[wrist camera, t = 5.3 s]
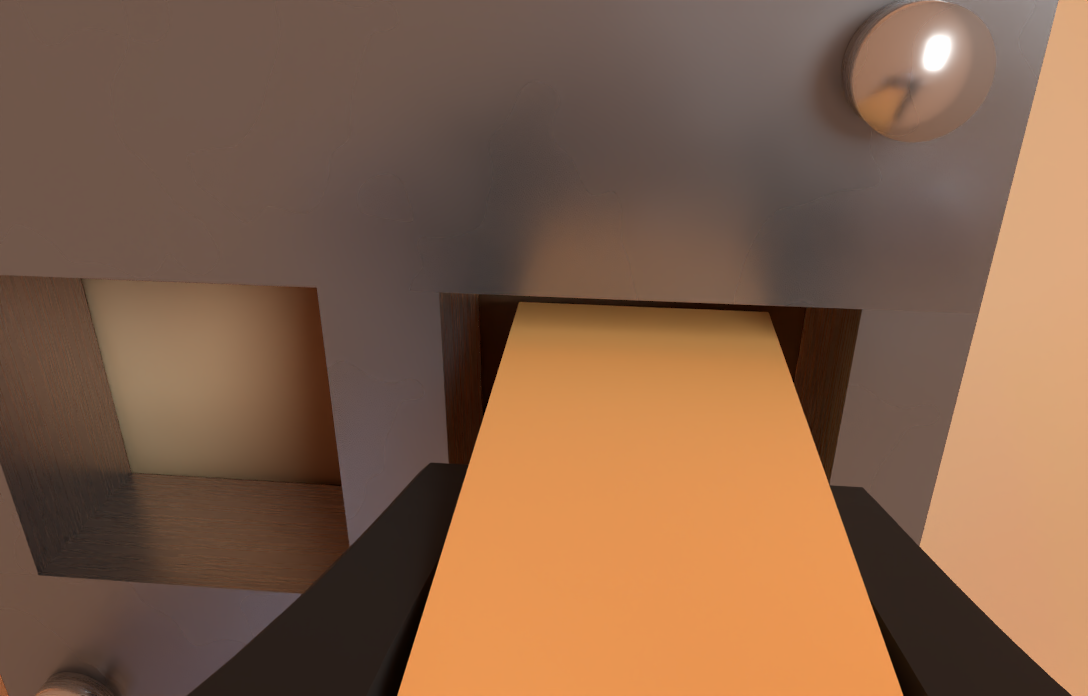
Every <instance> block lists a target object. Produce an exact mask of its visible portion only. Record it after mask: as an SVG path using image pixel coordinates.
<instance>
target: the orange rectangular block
mask: <svg viewBox="0 0 1088 696" xmlns="http://www.w3.org/2000/svg"><path fill="white" fill-rule="evenodd" d="M397 696H903V693H902V690H901V688H900V685H899V682H898V679H897V676H896V673H895V671H894V668H893V665H892V662H891V659H890V656H889V654H888V651H887V648H886V645H885V642H884V639H883V636H882V634H881V631H880V628H879V625H878V622H877V619H876V617H875V614H874V611H873V608H872V605H871V602H870V600H869V597H868V594H867V591H866V588H865V585H864V582H863V580H862V577H861V574H860V571H859V568H858V565H857V563H856V560H855V557H854V554H853V551H852V548H851V546H850V543H849V540H848V537H847V534H846V531H845V528H844V526H843V523H842V520H841V517H840V514H839V511H838V509H837V506H836V503H835V500H834V497H833V494H832V491H831V489H830V486H829V483H828V480H827V477H826V474H825V472H824V469H823V466H822V463H821V460H820V457H819V455H818V452H817V449H816V446H815V443H814V440H813V437H812V435H811V432H810V429H809V426H808V423H807V420H806V418H805V415H804V412H803V409H802V406H801V403H800V401H799V398H798V395H797V392H796V389H795V386H794V383H793V381H792V378H791V375H790V372H789V369H788V366H787V364H786V361H785V358H784V355H783V352H782V349H781V347H780V344H779V341H778V338H777V335H776V332H775V329H774V327H773V324H772V321H771V318H770V315H769V312H754V311H730V310H706V309H681V308H657V307H632V306H608V305H583V304H559V303H534V302H519V304H518V308H517V311H516V314H515V317H514V321H513V324H512V327H511V330H510V333H509V337H508V340H507V343H506V346H505V350H504V353H503V356H502V359H501V363H500V366H499V369H498V372H497V375H496V379H495V382H494V385H493V388H492V392H491V395H490V398H489V401H488V405H487V408H486V411H485V414H484V417H483V421H482V424H481V427H480V430H479V434H478V437H477V440H476V443H475V447H474V450H473V453H472V456H471V459H470V463H469V466H468V469H467V472H466V476H465V479H464V482H463V485H462V489H461V492H460V495H459V498H458V501H457V505H456V508H455V511H454V514H453V518H452V521H451V524H450V527H449V531H448V534H447V537H446V540H445V543H444V547H443V550H442V553H441V556H440V560H439V563H438V566H437V569H436V573H435V576H434V579H433V582H432V585H431V589H430V592H429V595H428V598H427V602H426V605H425V608H424V611H423V615H422V618H421V621H420V624H419V627H418V631H417V634H416V637H415V640H414V644H413V647H412V650H411V653H410V657H409V660H408V663H407V666H406V669H405V673H404V676H403V679H402V682H401V686H400V689H399V692H398V695H397Z"/></svg>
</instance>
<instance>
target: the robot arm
mask: <svg viewBox="0 0 1088 696" xmlns="http://www.w3.org/2000/svg"><path fill="white" fill-rule="evenodd" d="M468 466H469V465H466V464H448V463H431V462H430V463H429V464H428V465H427V466H426V467H425V468H423V469H422V470H421V471H420V472H419V473H418V474H417V475H416V476H415V477H414V479H413V480H412V481H411V482H410V483H409V484H408V485H407V486H406V487H405V488H404V489H403V491H402V492H401V493H400V494H399V495H398V496H397V497H396V498H395V499H394V500H393V502H392V503H391V504H390V505H389V506H388V507H387V508H386V509H385V510H384V511H383V512H382V513H381V515H380V516H379V517H378V518H377V519H376V520H375V521H374V522H373V523H372V524H371V525H370V526H369V527H368V528H367V529H366V530H365V531H364V533H363V534H362V535H361V536H360V537H359V538H358V539H357V540H356V541H355V542H354V543H353V544H352V545H351V546H350V547H349V548H348V549H347V550H346V551H345V552H344V553H343V554H342V555H341V556H340V557H339V558H338V559H337V560H336V561H335V562H334V563H333V564H332V565H331V566H330V567H329V568H328V569H327V570H326V571H325V572H324V573H323V574H322V575H321V576H320V577H319V578H318V579H317V580H316V581H315V582H314V583H313V584H312V585H311V586H310V587H309V588H308V589H307V590H306V591H305V592H304V593H303V594H302V595H301V596H300V597H299V598H297V599H296V600H295V601H294V602H293V603H292V604H291V605H290V606H289V607H288V608H287V609H285V610H284V611H283V612H282V613H281V614H280V615H279V616H278V617H277V618H275V619H274V620H273V621H272V622H271V623H270V624H269V625H268V626H267V627H265V628H264V629H263V630H262V631H261V632H260V633H259V634H258V635H257V636H256V637H254V638H253V639H252V640H251V641H250V642H249V643H248V644H247V645H246V646H244V647H243V648H242V649H241V650H240V651H239V652H238V653H237V654H236V655H234V656H233V657H232V658H231V659H230V660H229V661H227V662H226V663H225V664H224V665H223V666H222V667H220V668H219V669H218V670H217V671H216V672H214V673H213V674H212V675H211V676H210V677H208V678H207V679H206V680H205V681H204V682H202V683H201V684H200V685H199V686H198V687H196V688H195V689H194V690H193V691H191V692H190V693H189V694H188V695H186V696H397V695H398V692H399V689H400V686H401V682H402V679H403V676H404V673H405V669H406V666H407V663H408V660H409V657H410V653H411V650H412V647H413V644H414V640H415V637H416V634H417V631H418V627H419V624H420V621H421V618H422V615H423V611H424V608H425V605H426V602H427V598H428V595H429V592H430V589H431V585H432V582H433V579H434V576H435V573H436V569H437V566H438V563H439V560H440V556H441V553H442V550H443V547H444V543H445V540H446V537H447V534H448V531H449V527H450V524H451V521H452V518H453V514H454V511H455V508H456V505H457V501H458V498H459V495H460V492H461V489H462V485H463V482H464V479H465V476H466V472H467V469H468ZM829 486H830V489H831V491H832V494H833V497H834V500H835V503H836V506H837V509H838V511H839V514H840V517H841V520H842V523H843V526H844V528H845V531H846V534H847V537H848V540H849V543H850V546H851V548H852V551H853V554H854V557H855V560H856V563H857V565H858V568H859V571H860V574H861V577H862V580H863V582H864V585H865V588H866V591H867V594H868V597H869V600H870V602H871V605H872V608H873V611H874V614H875V617H876V619H877V622H878V625H879V628H880V631H881V634H882V636H883V639H884V642H885V645H886V648H887V651H888V654H889V656H890V659H891V662H892V665H893V668H894V671H895V673H896V676H897V679H898V682H899V685H900V688H901V690H902V693H903V696H1072V695H1070V694H1069V693H1068V692H1067V691H1066V690H1065V689H1064V688H1063V687H1062V686H1060V685H1059V684H1058V683H1057V682H1056V681H1055V680H1054V679H1053V678H1051V677H1050V676H1049V675H1048V674H1047V673H1046V672H1045V671H1044V670H1043V669H1042V668H1041V667H1040V666H1039V665H1038V664H1037V663H1035V662H1034V661H1033V660H1032V659H1031V658H1030V657H1029V656H1028V655H1027V654H1026V653H1025V652H1024V651H1023V650H1022V649H1021V648H1020V647H1018V646H1017V645H1016V644H1015V643H1014V642H1013V641H1012V640H1011V639H1010V638H1009V637H1008V636H1007V635H1006V634H1005V633H1004V632H1003V631H1002V630H1001V629H1000V628H999V627H998V626H997V625H996V624H995V623H994V622H993V621H992V620H991V619H990V618H989V617H988V616H987V615H986V614H985V613H984V612H983V611H982V610H981V609H980V608H979V607H978V606H977V605H976V604H975V603H974V602H973V601H972V600H971V599H970V598H969V597H968V596H967V595H966V594H965V593H964V592H963V591H962V590H961V589H960V588H959V587H958V586H957V585H956V584H955V583H954V582H953V581H952V580H951V579H950V578H949V577H948V576H947V575H946V574H945V573H944V572H943V571H942V570H941V569H940V568H939V567H938V566H937V565H936V563H935V562H934V561H933V560H932V559H931V558H930V557H929V556H928V555H927V554H926V553H925V552H924V551H923V550H922V549H921V548H920V547H919V546H918V545H917V544H916V543H915V542H914V540H913V539H912V538H911V537H910V536H909V535H908V534H907V533H906V532H905V531H904V530H903V529H902V528H901V527H900V526H899V525H898V523H897V522H896V521H895V520H894V519H893V518H892V517H891V516H890V515H889V514H888V513H887V512H886V511H885V510H884V509H883V508H882V507H881V506H880V504H879V503H878V502H877V501H876V500H875V499H874V498H873V497H872V496H871V495H870V494H869V493H868V492H867V491H866V490H865V489H864V488H863V487H851V486H833V485H829Z"/></svg>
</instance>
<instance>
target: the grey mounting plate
mask: <svg viewBox="0 0 1088 696" xmlns="http://www.w3.org/2000/svg"><path fill="white" fill-rule="evenodd" d="M1057 4H1058V0H0V675H1V677H2V680H3V682H4V685H5V687H6V690H7V692H8V695H9V696H186V695H188V694H189V693H190V692H191V691H193V690H194V689H195V688H196V687H198V686H199V685H200V684H201V683H202V682H204V681H205V680H206V679H207V678H208V677H210V676H211V675H212V674H213V673H214V672H216V671H217V670H218V669H219V668H220V667H222V666H223V665H224V664H225V663H226V662H227V661H229V660H230V659H231V658H232V657H233V656H234V655H236V654H237V653H238V652H239V651H240V650H241V649H242V648H243V647H244V646H246V645H247V644H248V643H249V642H250V641H251V640H252V639H253V638H254V637H256V636H257V635H258V634H259V633H260V632H261V631H262V630H263V629H264V628H265V627H267V626H268V625H269V624H270V623H271V622H272V621H273V620H274V619H275V618H277V617H278V616H279V615H280V614H281V613H282V612H283V611H284V610H285V609H287V608H288V607H289V606H290V605H291V604H292V603H293V602H294V601H295V600H296V599H297V598H299V597H300V596H301V595H302V594H303V593H304V592H305V591H306V590H307V589H308V588H309V587H310V586H311V585H312V584H313V583H314V582H315V581H316V580H317V579H318V578H319V577H320V576H321V575H322V574H323V573H324V572H325V571H326V570H327V569H328V568H329V567H330V566H331V565H332V564H333V563H334V562H335V561H336V560H337V559H338V558H339V557H340V556H341V555H342V554H343V553H344V552H345V551H346V550H347V549H348V548H349V547H350V546H351V545H352V544H353V543H354V542H355V541H356V540H357V539H358V538H359V537H360V536H361V535H362V534H363V533H364V531H365V530H366V529H367V528H368V527H369V526H370V525H371V524H372V523H373V522H374V521H375V520H376V519H377V518H378V517H379V516H380V515H381V513H382V512H383V511H384V510H385V509H386V508H387V507H388V506H389V505H390V504H391V503H392V502H393V500H394V499H395V498H396V497H397V496H398V495H399V494H400V493H401V492H402V491H403V489H404V488H405V487H406V486H407V485H408V484H409V483H410V482H411V481H412V480H413V479H414V477H415V476H416V475H417V474H418V473H419V472H420V471H421V470H422V469H423V468H425V467H426V466H427V465H428V464H429V463H430V462H431V463H448V464H466V465H469V463H470V459H471V456H472V453H473V450H474V447H475V443H476V440H477V437H478V434H479V430H480V427H481V424H482V421H483V413H482V384H481V355H480V326H479V298H478V294H491V295H516V296H541V297H566V298H591V299H616V300H641V301H667V302H692V303H717V304H742V305H767V306H792V307H806V310H805V316H804V323H803V329H802V336H801V342H800V349H799V355H798V362H797V368H796V375H795V381H794V386H795V389H796V392H797V395H798V398H799V401H800V403H801V406H802V409H803V412H804V415H805V418H806V420H807V423H808V426H809V429H810V432H811V435H812V437H813V440H814V443H815V446H816V449H817V452H818V455H819V457H820V460H821V463H822V466H823V469H824V472H825V474H826V477H827V480H828V483H829V485H833V486H851V487H863V488H864V489H865V490H866V491H867V492H868V493H869V494H870V495H871V496H872V497H873V498H874V499H875V500H876V501H877V502H878V503H879V504H880V506H881V507H882V508H883V509H884V510H885V511H886V512H887V513H888V514H889V515H890V516H891V517H892V518H893V519H894V520H895V521H896V522H897V523H898V525H899V526H900V527H901V528H902V529H903V530H904V531H905V532H906V533H907V534H908V535H909V536H910V537H911V538H912V539H913V540H914V542H915V543H916V544H917V545H918V546H919V545H920V541H921V538H922V534H923V530H924V526H925V522H926V518H927V514H928V510H929V506H930V502H931V498H932V494H933V490H934V487H935V483H936V479H937V475H938V471H939V467H940V463H941V459H942V455H943V451H944V447H945V443H946V439H947V436H948V432H949V428H950V424H951V420H952V416H953V412H954V408H955V404H956V400H957V396H958V392H959V389H960V385H961V381H962V377H963V373H964V369H965V365H966V361H967V357H968V353H969V349H970V345H971V341H972V338H973V334H974V330H975V326H976V322H977V318H978V314H979V310H980V306H981V302H982V298H983V294H984V291H985V287H986V283H987V279H988V275H989V271H990V267H991V263H992V259H993V255H994V251H995V247H996V243H997V240H998V236H999V232H1000V228H1001V224H1002V220H1003V216H1004V212H1005V208H1006V204H1007V200H1008V196H1009V193H1010V189H1011V185H1012V181H1013V177H1014V173H1015V169H1016V165H1017V161H1018V157H1019V153H1020V149H1021V145H1022V142H1023V138H1024V134H1025V130H1026V126H1027V122H1028V118H1029V114H1030V110H1031V106H1032V102H1033V98H1034V95H1035V91H1036V87H1037V83H1038V79H1039V75H1040V71H1041V67H1042V63H1043V59H1044V55H1045V51H1046V47H1047V44H1048V40H1049V36H1050V32H1051V28H1052V24H1053V20H1054V16H1055V12H1056V8H1057ZM81 278H88V279H113V280H139V281H164V282H189V283H214V284H239V285H264V286H289V287H315V288H317V294H318V302H319V309H320V317H321V325H322V333H323V341H324V349H325V357H326V365H327V373H328V380H329V388H330V396H331V404H332V412H333V420H334V428H335V436H336V443H337V451H338V459H339V467H340V475H341V483H342V486H336V485H320V484H303V483H286V482H269V481H252V480H235V479H218V478H202V477H185V476H168V475H151V474H134V473H131V470H130V466H129V463H128V459H127V455H126V451H125V447H124V443H123V440H122V436H121V432H120V428H119V424H118V420H117V416H116V413H115V409H114V405H113V401H112V397H111V393H110V390H109V386H108V382H107V378H106V374H105V370H104V367H103V363H102V359H101V355H100V351H99V347H98V344H97V340H96V336H95V332H94V328H93V324H92V320H91V317H90V313H89V309H88V305H87V301H86V297H85V294H84V290H83V286H82V282H81Z"/></svg>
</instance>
